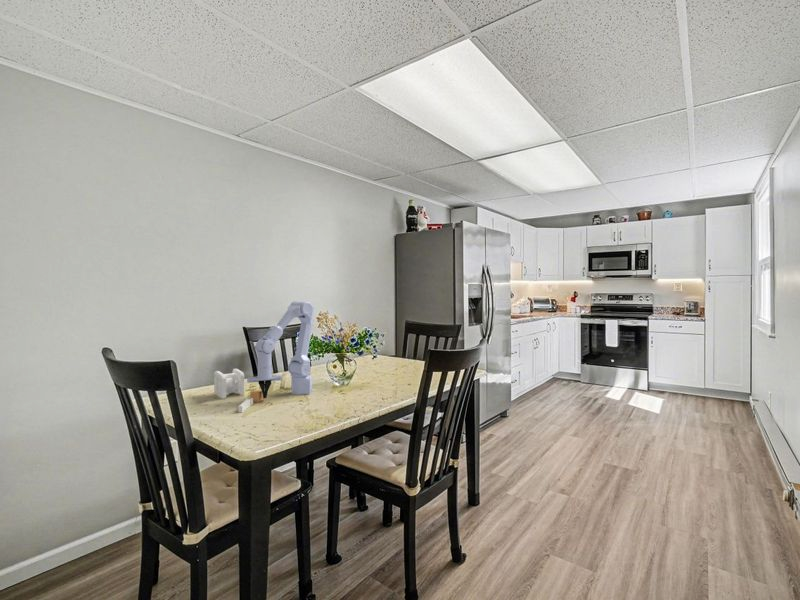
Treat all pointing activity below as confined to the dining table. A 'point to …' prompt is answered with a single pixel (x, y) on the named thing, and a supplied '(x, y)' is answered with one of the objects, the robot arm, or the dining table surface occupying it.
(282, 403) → the dining table surface
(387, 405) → the dining table surface
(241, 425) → the dining table surface
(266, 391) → the robot arm
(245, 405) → the bar
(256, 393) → the plug block
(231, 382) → the cable organizer
